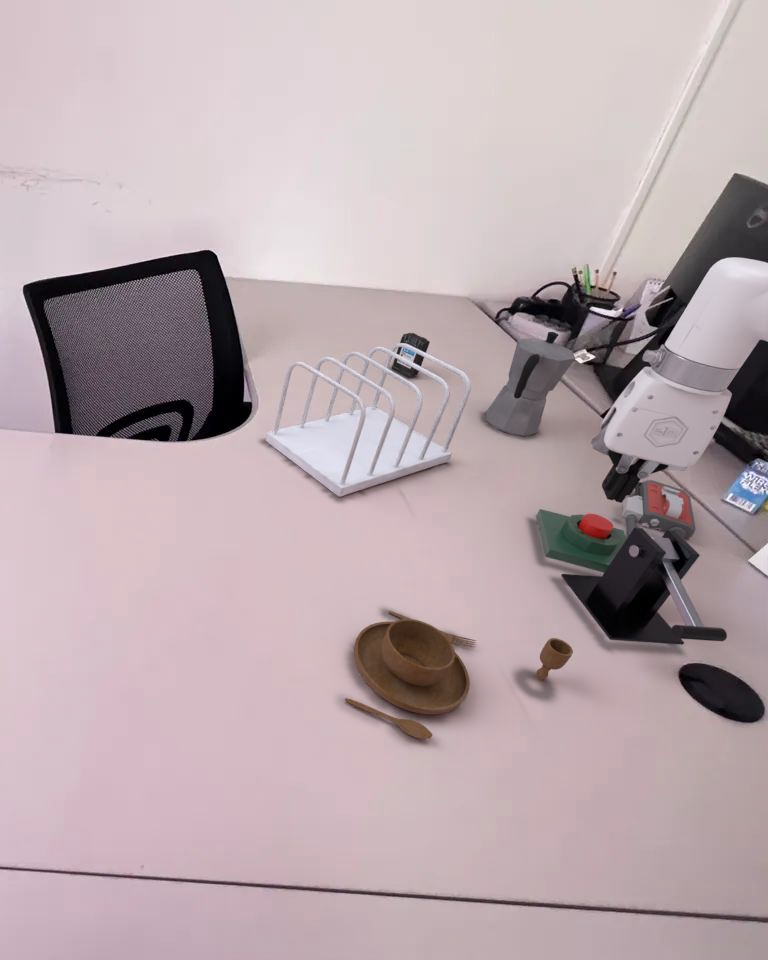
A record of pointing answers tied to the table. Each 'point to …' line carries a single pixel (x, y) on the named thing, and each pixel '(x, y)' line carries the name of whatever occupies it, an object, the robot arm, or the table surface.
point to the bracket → (633, 589)
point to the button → (596, 526)
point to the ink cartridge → (410, 354)
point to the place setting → (424, 668)
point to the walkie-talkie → (660, 509)
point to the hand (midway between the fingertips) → (611, 495)
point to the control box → (576, 541)
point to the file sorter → (363, 430)
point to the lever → (683, 599)
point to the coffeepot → (529, 385)
